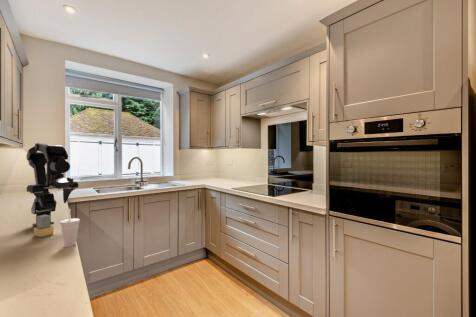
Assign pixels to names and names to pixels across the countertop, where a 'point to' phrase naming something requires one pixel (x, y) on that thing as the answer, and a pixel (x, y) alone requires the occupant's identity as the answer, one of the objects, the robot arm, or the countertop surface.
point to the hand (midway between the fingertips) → (54, 204)
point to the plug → (43, 221)
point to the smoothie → (69, 230)
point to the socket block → (43, 232)
